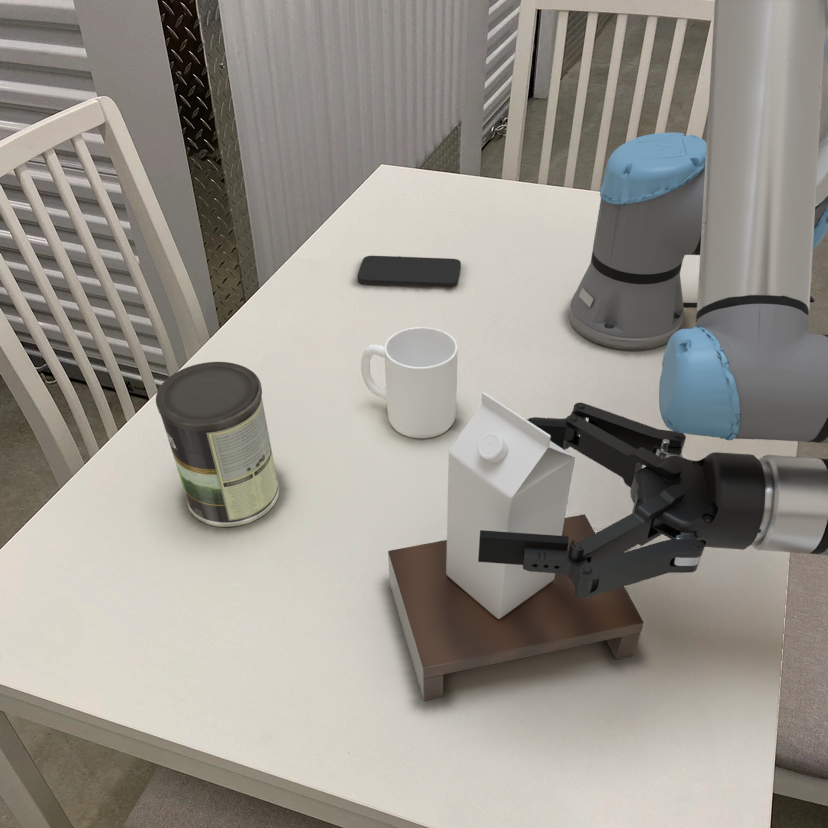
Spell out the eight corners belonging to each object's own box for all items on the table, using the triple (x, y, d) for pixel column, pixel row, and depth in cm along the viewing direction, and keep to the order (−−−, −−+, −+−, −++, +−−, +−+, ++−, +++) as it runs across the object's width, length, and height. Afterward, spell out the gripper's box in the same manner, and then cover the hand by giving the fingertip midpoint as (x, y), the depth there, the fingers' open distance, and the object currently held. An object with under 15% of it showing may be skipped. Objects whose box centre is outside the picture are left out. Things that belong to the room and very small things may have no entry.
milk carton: (500, 538, 79) (515, 374, 65) (554, 581, 75) (582, 416, 61) (445, 575, 76) (448, 411, 62) (498, 621, 72) (515, 457, 58)
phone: (364, 254, 126) (461, 258, 124) (364, 259, 126) (461, 263, 125) (355, 279, 121) (457, 283, 119) (356, 284, 121) (457, 288, 120)
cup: (439, 447, 96) (440, 375, 88) (348, 422, 99) (342, 350, 92) (466, 407, 101) (468, 335, 93) (379, 384, 104) (374, 313, 97)
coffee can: (182, 531, 87) (148, 427, 77) (192, 467, 94) (162, 364, 84) (279, 524, 88) (258, 420, 77) (281, 461, 95) (263, 357, 84)
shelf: (578, 548, 85) (584, 513, 81) (633, 655, 75) (644, 622, 72) (389, 584, 82) (387, 550, 78) (423, 701, 72) (423, 669, 69)
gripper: (767, 660, 59) (472, 636, 61) (719, 438, 76) (489, 425, 77) (802, 593, 53) (476, 569, 55) (742, 370, 70) (493, 357, 72)
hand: (483, 485), depth 66 cm, fingers open, 13 cm apart
